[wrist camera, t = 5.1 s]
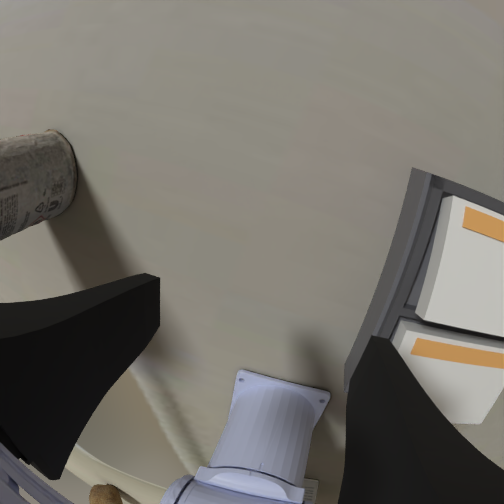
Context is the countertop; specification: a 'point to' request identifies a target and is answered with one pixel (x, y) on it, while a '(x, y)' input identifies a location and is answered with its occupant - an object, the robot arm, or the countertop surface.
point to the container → (310, 489)
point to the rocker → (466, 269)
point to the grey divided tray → (412, 262)
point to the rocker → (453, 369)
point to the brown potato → (104, 495)
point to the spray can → (34, 180)
